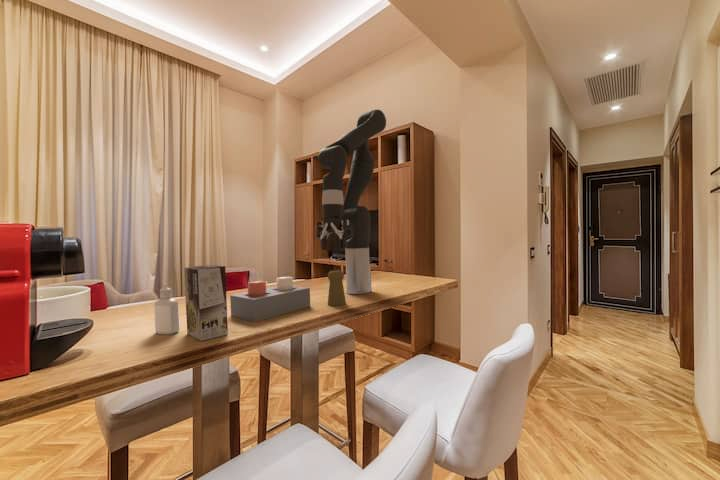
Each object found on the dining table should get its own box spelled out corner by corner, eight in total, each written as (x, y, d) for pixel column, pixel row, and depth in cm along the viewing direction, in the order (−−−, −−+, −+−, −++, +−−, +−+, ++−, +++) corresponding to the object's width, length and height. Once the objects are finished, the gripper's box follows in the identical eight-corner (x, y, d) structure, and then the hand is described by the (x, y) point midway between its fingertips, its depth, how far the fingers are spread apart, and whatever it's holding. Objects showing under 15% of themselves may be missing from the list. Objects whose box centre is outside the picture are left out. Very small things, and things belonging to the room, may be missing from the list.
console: (286, 302, 104) (285, 284, 104) (310, 306, 97) (309, 287, 97) (231, 315, 89) (230, 295, 89) (254, 322, 81) (253, 299, 81)
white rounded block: (286, 294, 100) (285, 276, 100) (296, 295, 97) (295, 277, 97) (273, 297, 96) (273, 278, 96) (283, 298, 93) (283, 279, 93)
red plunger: (260, 300, 92) (259, 280, 92) (270, 302, 89) (269, 281, 89) (245, 303, 88) (244, 282, 88) (254, 305, 85) (254, 284, 85)
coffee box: (229, 334, 72) (226, 266, 71) (200, 342, 67) (197, 268, 67) (213, 327, 78) (211, 264, 78) (186, 333, 73) (183, 266, 73)
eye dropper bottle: (159, 337, 71) (157, 286, 71) (154, 332, 75) (152, 283, 75) (180, 332, 74) (178, 283, 74) (174, 328, 78) (172, 281, 78)
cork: (347, 301, 102) (346, 269, 102) (344, 306, 96) (343, 271, 96) (329, 302, 103) (328, 269, 103) (325, 306, 97) (324, 271, 97)
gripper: (355, 203, 106) (355, 250, 106) (325, 206, 115) (326, 249, 114) (340, 201, 100) (341, 250, 100) (311, 204, 109) (311, 250, 109)
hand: (333, 250), depth 107 cm, fingers open, 8 cm apart
